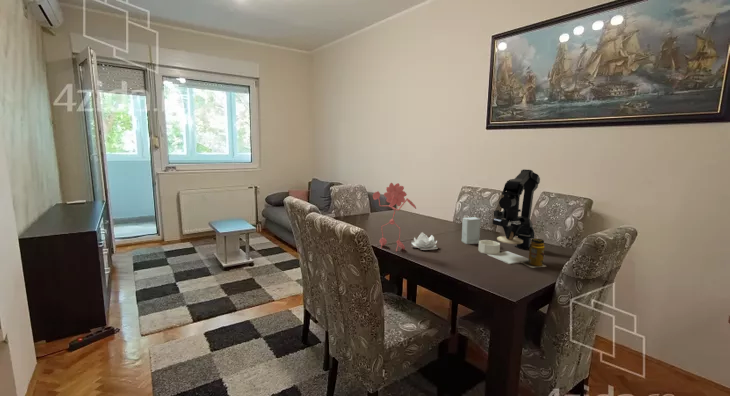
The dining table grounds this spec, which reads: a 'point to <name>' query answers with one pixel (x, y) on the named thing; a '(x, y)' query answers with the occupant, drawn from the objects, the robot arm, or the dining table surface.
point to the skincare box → (471, 230)
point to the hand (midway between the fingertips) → (509, 238)
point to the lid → (510, 239)
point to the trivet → (509, 257)
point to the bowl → (489, 247)
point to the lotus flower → (424, 242)
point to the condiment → (536, 254)
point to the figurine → (393, 197)
